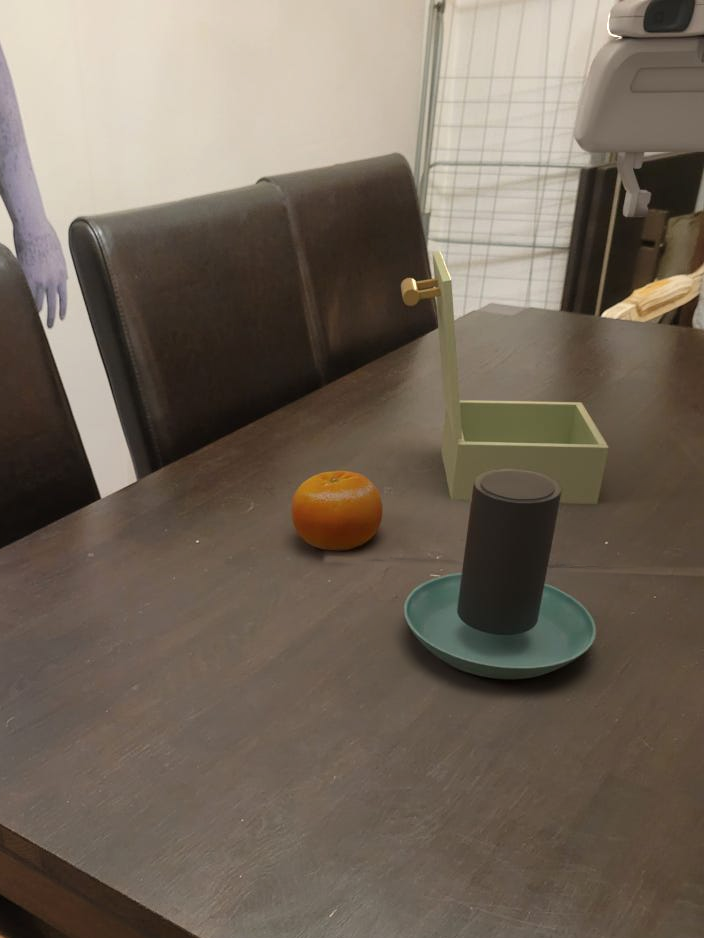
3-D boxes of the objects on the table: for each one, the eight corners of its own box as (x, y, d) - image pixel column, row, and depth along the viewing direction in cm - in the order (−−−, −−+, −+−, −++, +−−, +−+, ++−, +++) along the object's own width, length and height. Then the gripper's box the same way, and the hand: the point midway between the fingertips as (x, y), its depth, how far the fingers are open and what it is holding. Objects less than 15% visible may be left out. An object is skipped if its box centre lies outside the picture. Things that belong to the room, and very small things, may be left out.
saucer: (566, 717, 68) (573, 687, 67) (373, 664, 75) (375, 636, 73) (606, 622, 79) (613, 595, 78) (435, 583, 85) (438, 556, 84)
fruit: (317, 479, 97) (327, 433, 89) (389, 522, 95) (406, 479, 88) (271, 539, 94) (278, 497, 87) (345, 584, 92) (359, 545, 85)
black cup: (526, 594, 78) (549, 467, 72) (547, 635, 73) (572, 501, 67) (450, 595, 78) (466, 468, 72) (465, 635, 73) (483, 502, 67)
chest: (570, 460, 109) (581, 402, 105) (596, 510, 97) (609, 447, 94) (440, 457, 110) (446, 399, 107) (450, 506, 99) (457, 444, 95)
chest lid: (440, 250, 99) (397, 258, 99) (451, 279, 87) (402, 287, 88) (450, 395, 106) (410, 401, 107) (462, 439, 95) (417, 445, 96)
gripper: (881, 1, 69) (820, 209, 76) (588, 9, 71) (557, 210, 79) (924, -1, 64) (855, 222, 71) (606, 7, 66) (571, 223, 73)
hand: (696, 216), depth 75 cm, fingers open, 8 cm apart
